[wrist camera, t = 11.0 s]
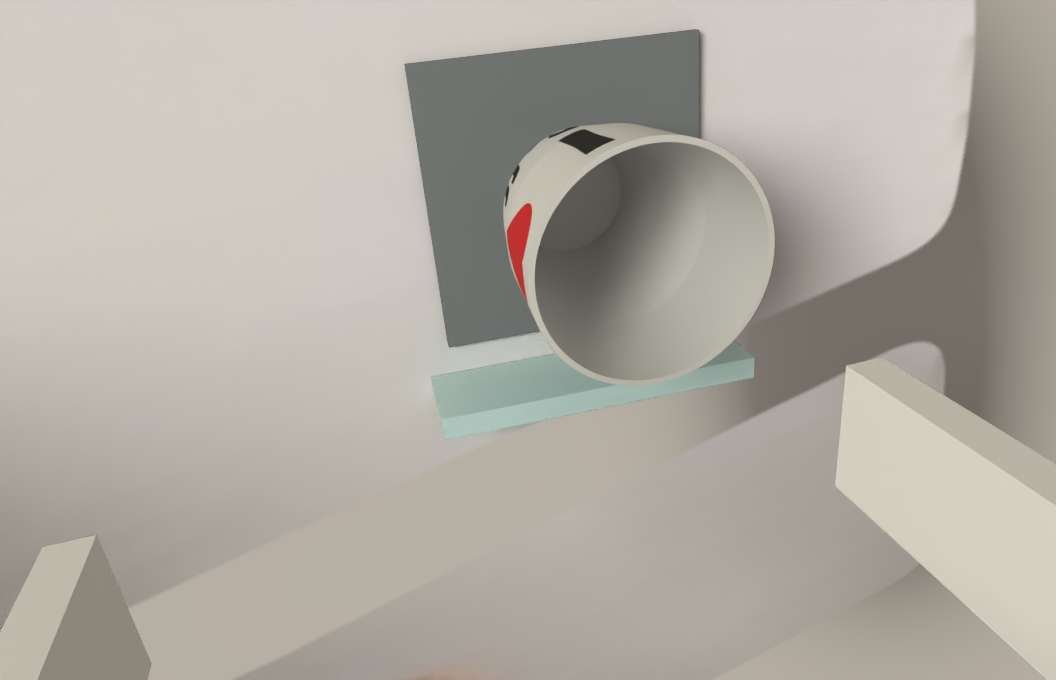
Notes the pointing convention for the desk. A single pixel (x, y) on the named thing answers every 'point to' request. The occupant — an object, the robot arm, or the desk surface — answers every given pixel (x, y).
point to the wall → (557, 391)
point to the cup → (637, 249)
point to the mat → (525, 148)
